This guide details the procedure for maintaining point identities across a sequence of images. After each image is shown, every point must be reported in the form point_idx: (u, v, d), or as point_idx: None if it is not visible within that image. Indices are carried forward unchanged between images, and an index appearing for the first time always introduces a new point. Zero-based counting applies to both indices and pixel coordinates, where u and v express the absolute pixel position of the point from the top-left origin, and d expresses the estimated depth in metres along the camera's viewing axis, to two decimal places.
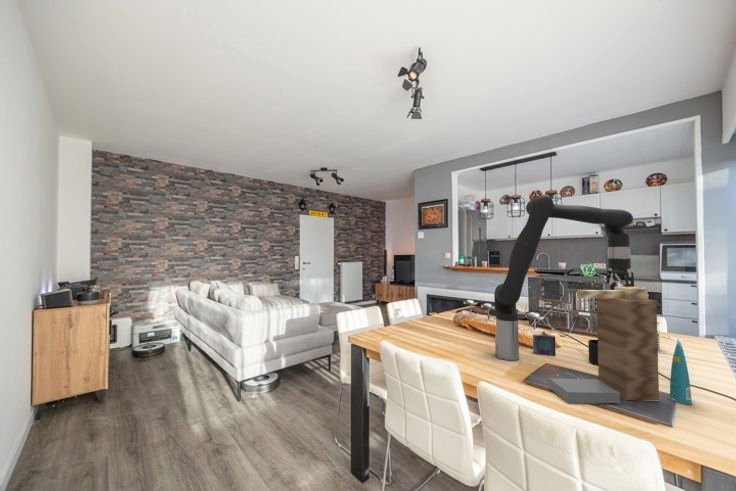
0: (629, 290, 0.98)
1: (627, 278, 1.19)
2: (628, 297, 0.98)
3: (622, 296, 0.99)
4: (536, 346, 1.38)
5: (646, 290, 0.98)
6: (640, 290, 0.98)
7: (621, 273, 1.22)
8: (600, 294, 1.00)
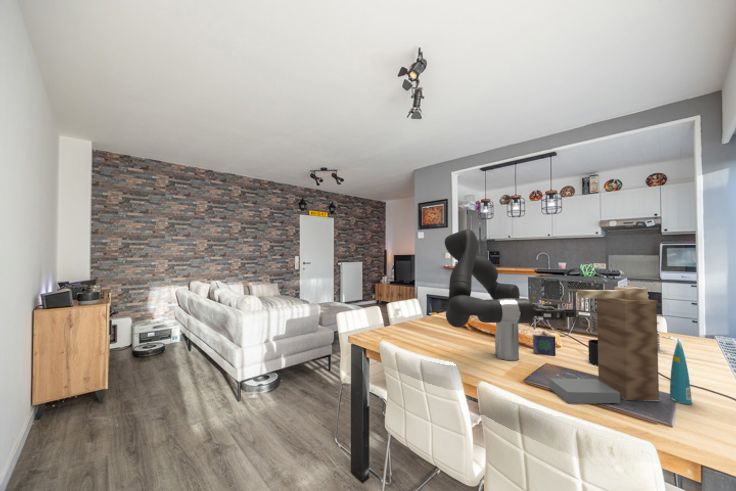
0: (629, 290, 0.98)
1: (553, 318, 0.83)
2: (628, 297, 0.98)
3: (622, 296, 0.99)
4: (536, 346, 1.38)
5: (646, 290, 0.98)
6: (640, 290, 0.98)
7: (540, 316, 0.87)
8: (600, 294, 1.00)
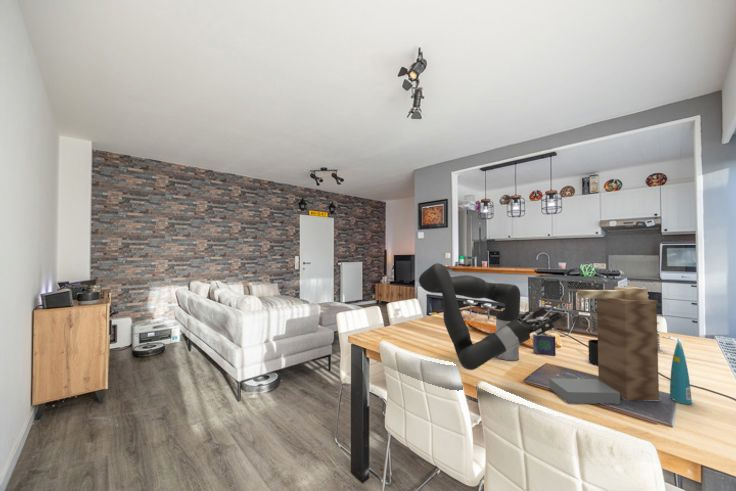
0: (629, 290, 0.98)
1: (544, 330, 0.94)
2: (628, 297, 0.98)
3: (622, 296, 0.99)
4: (536, 346, 1.38)
5: (646, 290, 0.98)
6: (640, 290, 0.98)
7: None
8: (600, 294, 1.00)
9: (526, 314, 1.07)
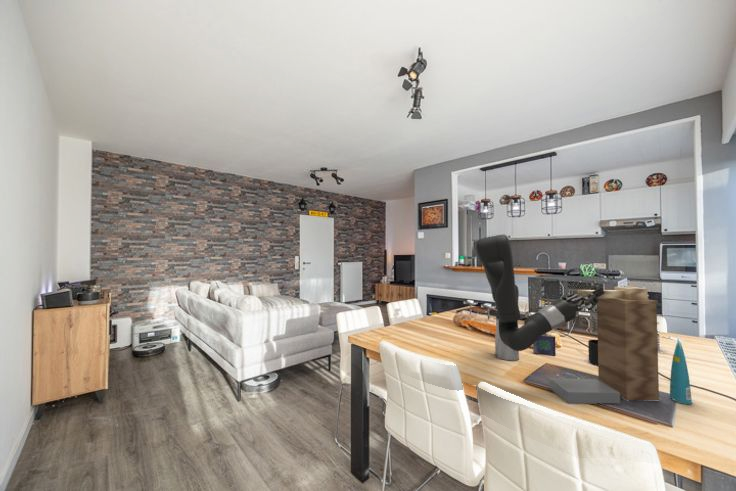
0: (629, 290, 0.98)
1: (594, 305, 0.96)
2: (628, 297, 0.98)
3: (622, 296, 0.99)
4: (536, 346, 1.38)
5: (646, 290, 0.98)
6: (640, 290, 0.98)
7: None
8: None
9: (574, 294, 1.05)
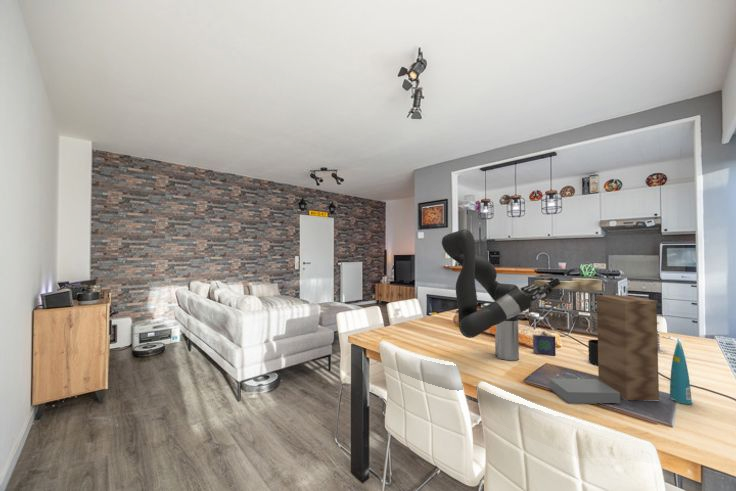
0: (584, 281, 0.98)
1: (548, 295, 0.96)
2: (583, 288, 0.99)
3: (577, 287, 1.00)
4: (536, 346, 1.38)
5: (601, 281, 0.98)
6: (595, 281, 0.98)
7: None
8: None
9: (533, 285, 1.05)
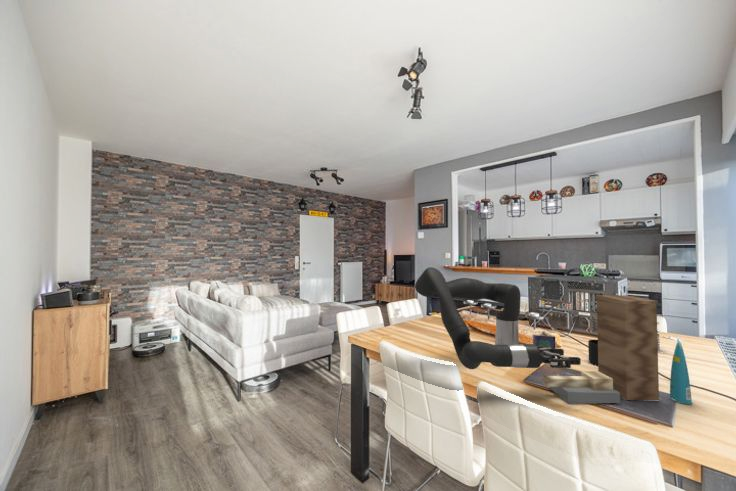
0: (594, 380, 0.94)
1: (560, 366, 0.91)
2: (593, 387, 0.94)
3: (587, 385, 0.96)
4: None
5: (611, 380, 0.94)
6: (605, 380, 0.94)
7: None
8: (565, 382, 0.96)
9: (542, 347, 1.04)
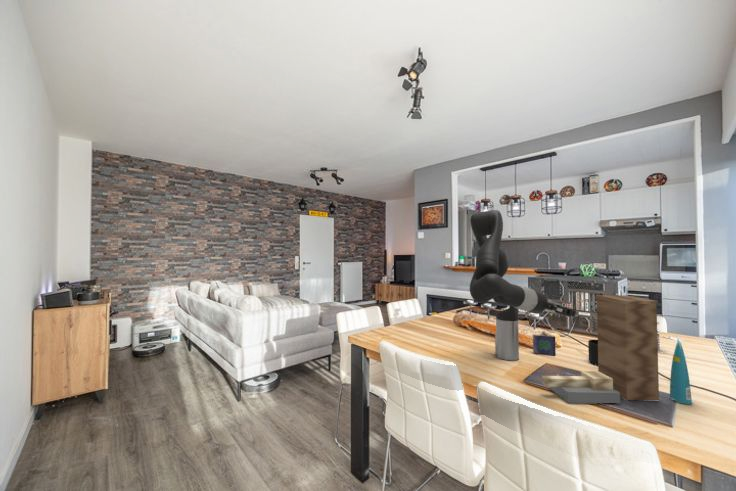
0: (594, 380, 0.94)
1: (563, 313, 0.92)
2: (593, 387, 0.94)
3: (587, 385, 0.96)
4: (536, 346, 1.38)
5: (611, 380, 0.94)
6: (605, 380, 0.94)
7: (549, 309, 0.95)
8: (565, 382, 0.96)
9: None
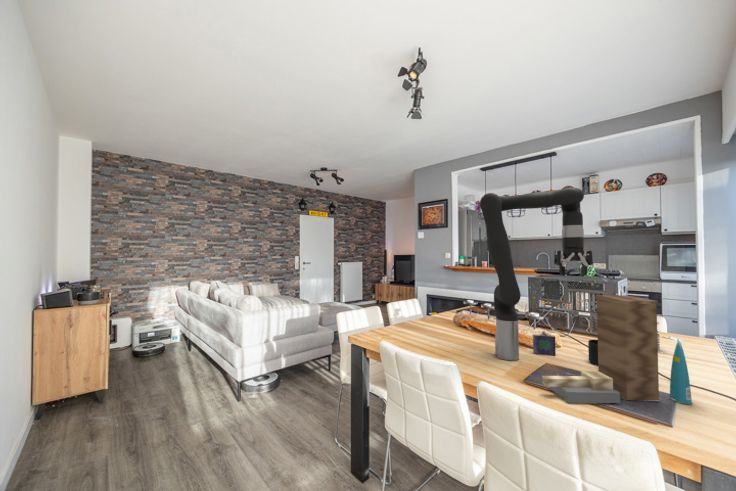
0: (594, 380, 0.94)
1: None
2: (593, 387, 0.94)
3: (587, 385, 0.96)
4: (536, 346, 1.38)
5: (611, 380, 0.94)
6: (605, 380, 0.94)
7: (583, 252, 1.21)
8: (565, 382, 0.96)
9: None
